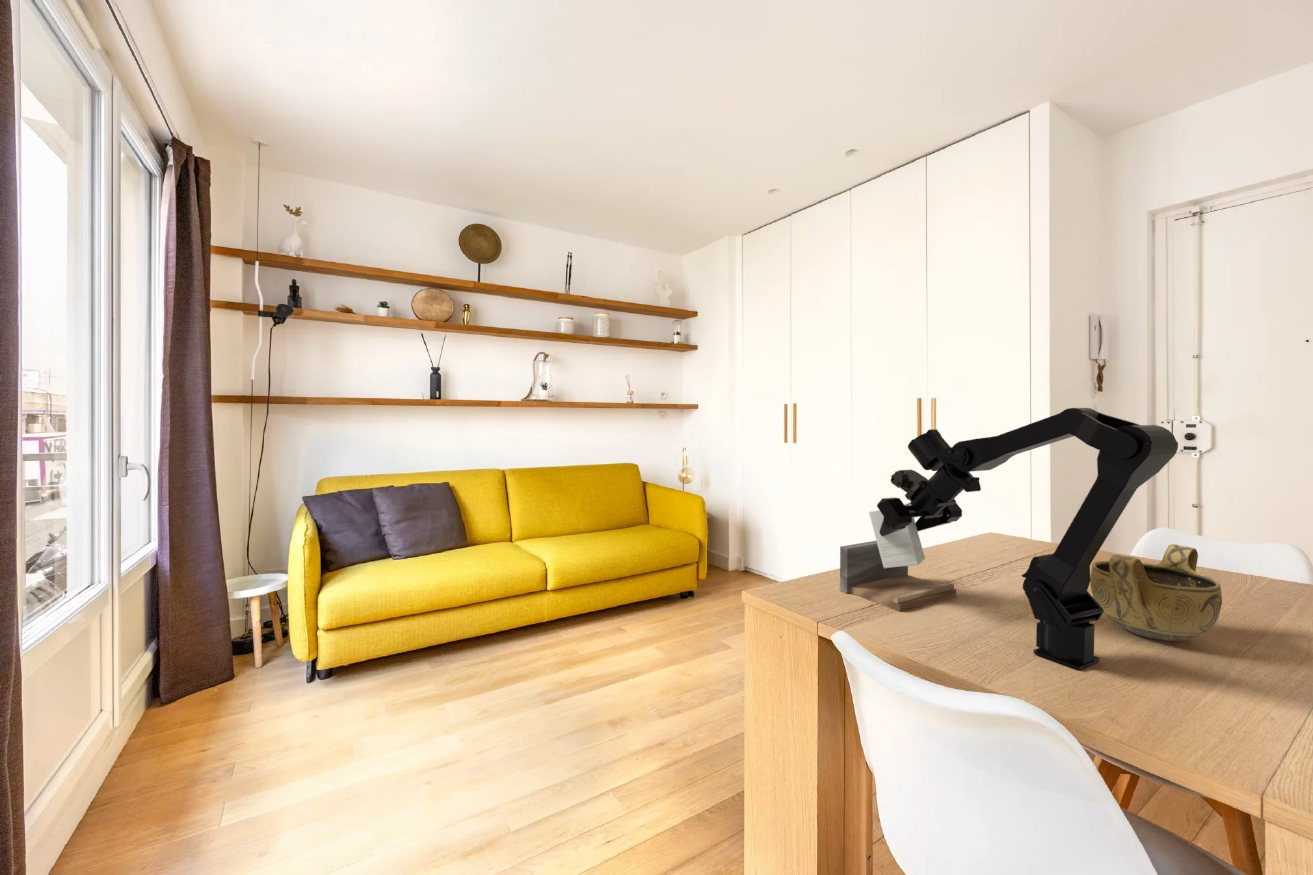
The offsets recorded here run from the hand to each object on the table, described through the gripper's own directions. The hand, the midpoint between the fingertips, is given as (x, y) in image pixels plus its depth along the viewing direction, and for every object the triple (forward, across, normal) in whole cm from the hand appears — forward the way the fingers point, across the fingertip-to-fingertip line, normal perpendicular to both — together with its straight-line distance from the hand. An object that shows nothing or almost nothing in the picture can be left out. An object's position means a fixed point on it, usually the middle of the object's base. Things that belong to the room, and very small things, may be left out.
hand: (897, 532), depth 115 cm
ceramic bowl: (-14, -24, +34) cm, 44 cm away
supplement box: (+4, 0, +6) cm, 7 cm away
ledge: (+9, 0, +10) cm, 13 cm away
